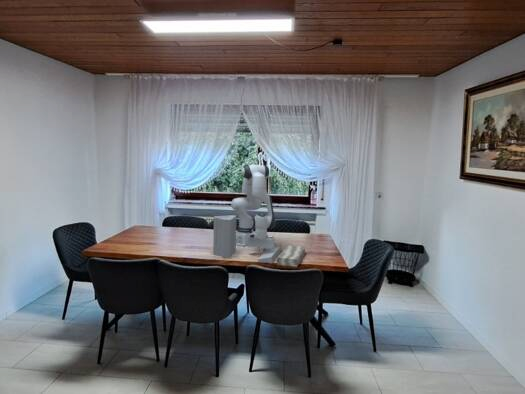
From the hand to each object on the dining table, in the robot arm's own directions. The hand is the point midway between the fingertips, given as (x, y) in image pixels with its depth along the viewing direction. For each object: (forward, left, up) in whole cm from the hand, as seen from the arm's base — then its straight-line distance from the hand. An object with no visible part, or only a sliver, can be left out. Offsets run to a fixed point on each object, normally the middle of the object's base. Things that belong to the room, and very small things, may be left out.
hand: (260, 253), depth 272 cm
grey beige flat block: (+24, 0, -2) cm, 24 cm away
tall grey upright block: (-27, -6, -2) cm, 28 cm away
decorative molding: (+7, +1, -2) cm, 8 cm away
